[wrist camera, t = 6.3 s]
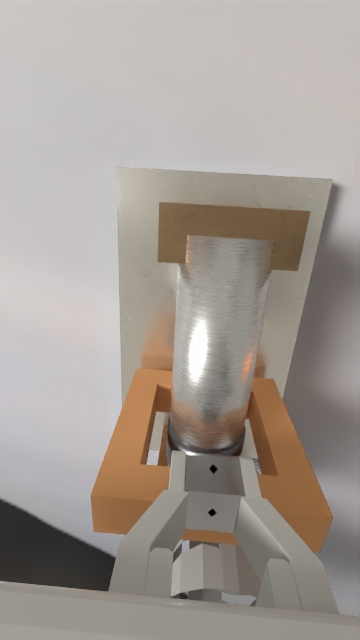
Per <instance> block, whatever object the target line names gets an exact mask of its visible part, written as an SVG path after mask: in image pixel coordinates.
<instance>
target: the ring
mask: <svg viewBox="0 0 360 640" xmlns="http://www.w3.org/2000/svg"><path fill="white" fill-rule="evenodd" d="M172 374H173V371H163V370H150V369H137V368H136V371H135V374H134V377H133V380H132V382H131V385H130V388H129V391H128V393H127V396H126V399H125V402H124V404H123V407H122V410H121V413H120V416H119V418H118V421H117V424H116V427H115V429H114V432H113V435H112V438H111V440H110V443H109V446H108V449H107V452H106V454H105V457H104V460H103V463H102V465H101V468H100V471H99V474H98V477H97V479H96V482H95V485H94V488H93V490H92V493H91V505H92V516H93V528H94V532H103V533H114V534H125V535H126V534H127V533H128V532H129V531H130V530H131V529H132V527H133V526H134V525H135V524H136V523H137V521H138V520H139V519H140V518H141V517H142V515H143V514H144V513H145V512H146V511H147V509H148V508H149V507H150V506H151V505H152V504H153V502H154V501H155V500H156V499H157V498H158V496H159V495H160V494H161V493H162V492H163V490H168V487H169V477H170V467H167V466H155V465H146V463H147V457H148V452H149V447H150V442H151V437H152V431H153V426H154V421H155V416H156V412H167V413H170V412H171V393H172ZM246 419H249V423H250V427H251V431H252V435H253V439H254V444H255V448H256V452H257V456H258V460H259V465H260V469H261V473H262V475H260V474H257V477H258V482H259V486H260V491H261V495H262V498H265V499H267V500H268V501H269V502H270V503H271V504H272V506H273V507H274V508H275V509H276V510H277V511H278V512H279V514H280V515H281V516H282V517H283V518H284V519H285V520H286V522H287V523H288V524H289V525H290V526H291V527H292V529H293V530H294V531H295V532H296V533H297V534H298V535H299V537H300V538H301V539H302V540H303V541H304V542H305V543H306V545H307V546H308V547H309V548H310V549H311V550H312V551H313V552H319V553H320V550H321V548H322V545H323V542H324V540H325V537H326V535H327V532H328V529H329V527H330V524H331V521H332V519H333V516H332V513H331V511H330V509H329V506H328V504H327V502H326V499H325V497H324V495H323V492H322V490H321V488H320V486H319V483H318V481H317V479H316V476H315V474H314V472H313V469H312V467H311V465H310V462H309V460H308V458H307V455H306V453H305V451H304V448H303V446H302V444H301V441H300V439H299V437H298V435H297V432H296V430H295V428H294V425H293V423H292V421H291V418H290V416H289V414H288V411H287V409H286V407H285V404H284V402H283V400H282V397H281V395H280V393H279V391H278V388H277V386H276V384H275V381H274V379H268V378H255V377H253V381H252V387H251V392H250V398H249V404H248V409H247V415H246ZM180 540H190V541H200V542H211V543H222V544H233V545H240V544H239V543H238V541H237V539H236V538H235V536H234V533H226V532H217V531H209V530H193V529H185V532H184V534H183V536H182V537H181V539H180Z"/></svg>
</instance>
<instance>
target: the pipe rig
mask: <svg viewBox="0 0 360 640" xmlns="http://www.w3.org/2000/svg"><path fill="white" fill-rule="evenodd" d="M116 176H117V216H118V256H119V296H120V337H121V377H122V407H123V404H124V402H125V399H126V396H127V393H128V391H129V388H130V385H131V382H132V380H133V377H134V374H135V371H136V368H137V369H150V370H163V371H173V374H172V393H171V412H170V413H167V412H156V416H155V421H154V426H153V431H152V437H151V442H150V447H149V450H160V452H159V459H158V466H167V467H171V457H172V451H173V450H174V451H183V452H195V453H204V454H217V455H231V456H243V457H252V458H256V459H258V456H257V452H256V448H255V444H254V439H253V435H252V431H251V427H250V423H249V419H246V415H247V409H248V404H249V398H250V392H251V387H252V381H253V377H255V378H268V379H274V381H275V384H276V386H277V388H278V391H279V393H280V395H281V397H282V399H283V395H284V391H285V386H286V382H287V378H288V373H289V369H290V365H291V360H292V356H293V352H294V347H295V343H296V338H297V334H298V330H299V325H300V321H301V317H302V312H303V308H304V304H305V299H306V295H307V290H308V286H309V282H310V277H311V273H312V269H313V264H314V260H315V256H316V251H317V247H318V243H319V238H320V234H321V229H322V225H323V221H324V216H325V212H326V208H327V203H328V199H329V195H330V190H331V186H332V181H333V179H322V178H304V177H287V176H269V175H251V174H233V173H216V172H198V171H180V170H163V169H145V168H127V167H116Z"/></svg>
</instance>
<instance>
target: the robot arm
mask: <svg viewBox="0 0 360 640" xmlns="http://www.w3.org/2000/svg"><path fill="white" fill-rule="evenodd" d="M185 529H193V530H209V531H217V532H226V533H234V536H235V538H236V539H237V541H238V543H239V544H240V546H241V548H242V550H243V551H244V553H245V555H246V556H247V558H248V560H249V561H250V563H251V565H252V567H253V568H254V570H255V572H256V573H257V575H258V577H259V578H260V580H261V582H262V584H261V587H260V591H259V594H258V598H257V601H256V605H255V606H247V605H237V604H226V603H216V602H206V601H196V600H185V599H175V598H171V585H172V568H173V551H174V549H175V548H176V546H177V544H178V542H179V541H180V539H181V537H182V536H183V534H184V532H185ZM0 640H360V617H358V616H348V615H340V613H339V610H338V607H337V604H336V602H335V599H334V596H333V593H332V590H331V587H330V584H329V581H328V579H327V576H326V573H325V570H324V567H323V564H322V562H321V561H320V559H319V558H318V557H317V556H316V555H315V554H314V553H313V551H312V550H311V549H310V548H309V547H308V546H307V545H306V543H305V542H304V541H303V540H302V539H301V538H300V537H299V535H298V534H297V533H296V532H295V531H294V530H293V529H292V527H291V526H290V525H289V524H288V523H287V522H286V520H285V519H284V518H283V517H282V516H281V515H280V514H279V512H278V511H277V510H276V509H275V508H274V507H273V506H272V504H271V503H270V502H269V501H268V500H267V499H265V498H262V495H261V491H260V486H259V482H258V477H257V473H256V468H255V464H254V460H253V458H252V457H243V456H231V455H217V454H204V453H195V452H183V451H174V450H173V451H172V457H171V467H170V477H169V487H168V490H163V492H162V493H161V494H160V495H159V496H158V498H157V499H156V500H155V501H154V502H153V504H152V505H151V506H150V507H149V508H148V509H147V511H146V512H145V513H144V514H143V515H142V517H141V518H140V519H139V520H138V521H137V523H136V524H135V525H134V526H133V527H132V529H131V530H130V531H129V532H128V533H127V534H126V536H125V537H124V538H123V539H122V540H121V542H120V544H119V548H118V552H117V557H116V561H115V565H114V570H113V574H112V578H111V583H110V587H109V591H108V592H103V591H93V590H84V589H73V588H63V587H53V586H43V585H32V584H23V583H12V582H3V581H0Z"/></svg>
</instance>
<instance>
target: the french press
mask: <svg viewBox="0 0 360 640" xmlns="http://www.w3.org/2000/svg"><path fill="white" fill-rule="evenodd" d="M256 473H257V474H259V473H258V472H257V471H256ZM184 541H186V540H180V541H179V542H178V544H177V546H176V548H175V549H174V551H173V568H172V585H171V598H175V599H179V595H180V593H181V592H187V591H189V596H188V599H187V600H196V601H206V602H216V603H226V604H229V603H227V602H224V601H222V600H221V591H222V592H225V593H228V594H231V595H251V596H254V597H257V598H258V594H259V591H260V587H261V584H262V582H261V580H260V578H259V577H258V575H257V573H256V572H255V570H254V568H253V567H252V565H251V563H250V561H249V560H248V558H247V556H246V555H245V553H244V551H243V550H242V548H241V546H240V545H233V544H222V543H211V542H200V541H190V548H189V550H188V551H185V552H183V553H181V551H182V542H184ZM256 601H257V599H256V600H255V601H254V602H253V603H252V604H251V605H250V606H255V605H256Z"/></svg>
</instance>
